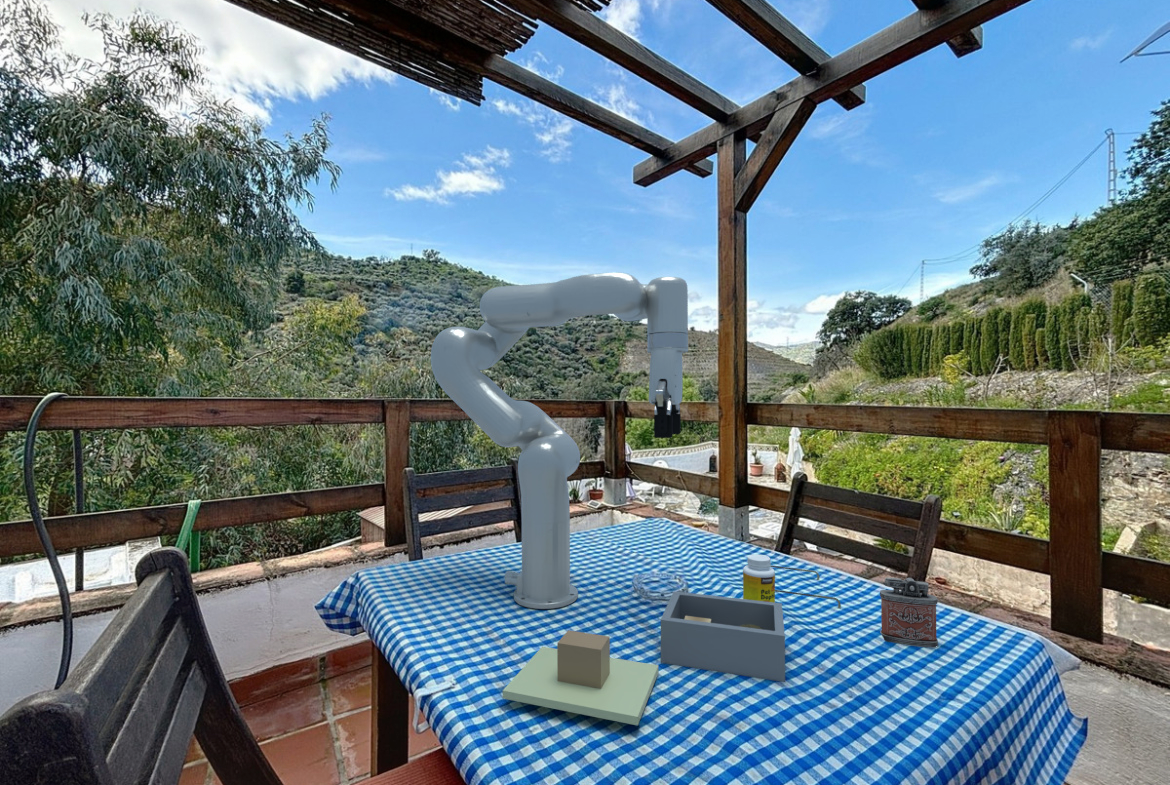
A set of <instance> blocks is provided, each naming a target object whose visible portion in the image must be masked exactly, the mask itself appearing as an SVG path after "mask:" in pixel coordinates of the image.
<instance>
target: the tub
mask: <svg viewBox="0 0 1170 785" xmlns="http://www.w3.org/2000/svg"><path fill="white" fill-rule="evenodd" d="M685 616H692V617H700V618H708V619H711V623H708V622H701V621H693V620H685V619H684V618H685ZM745 624H751V625H756V626H759V627H761V628H762V629H755V628H747V627H739V626H741V625H745ZM784 624H785V623H784V614H783V603H781V602H775V603H773V602H764V601H756V600H747V599H743V598H737V597H736V598H735V597H728V596H719V595H712V594H711V595H709V594H702V593H701V594H700V593H691V592H684V591H683V592H682V591H673V592H672V594H671V596H670V599H669V601H668V603H667V604H666V607H665V609H664V611H663V614H662V616H661V618H660V663H661V664H667V665H674V666H679V667H686V668H692V669H699V670H705V671H711V672H712V671H713V672H716V673H724V674H731V675H736V676H737V675H739V676H742V677H743V676H744V677H748V678H750V677H751V678H756V679H761V680H762V679H764V680H770V681H775V682H782V683H786V638H785V637H786V634H785V625H784Z"/></svg>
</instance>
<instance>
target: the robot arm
mask: <svg viewBox="0 0 1170 785" xmlns="http://www.w3.org/2000/svg"><path fill="white" fill-rule="evenodd" d="M688 291H689V290H688V284H687V282H686V280H685V279H684V278H682V277H677V276H660V277H655V278H652V279H651V280H650V281H649V282H648V284H646V283H645V284H644V283H641V282H640V281H639V280H638V279H637V278H636V277H635V276H634V275H632V274H629V273H625V272H617V271H616V272H605V273H604V272H603V273H588V274H581V275H577V276H572V277H568V278H566V279H561V280H558V281H556V282H554V281H553V282H547V283H546V282H545V283H543V282H542V283H534V284H520V285H519V284H517V285H516V284H515V285H505V286H503V285H502V286H497V287H494V288H491V289H488V290H486V292H485V293H483V294H482V297H481V298H480V300H479V312H480V315H481V317H482V319H483V320H484V323H483V324H482V325H481V326H480V327H479V328H478V329H473V328H470V327H467V326H466V327H465V326H451V327H450V326H449V327H447V328H445V329H443V330H441V331H440V332H439V333H438V334H437V335H436V337H435V338H434V340H433V343H432V345H431V350H430V364H431V370H432V374H433V376H434V378H435V380H436V382H437V383H438V385H439V386H440V388H441V389H442V390H443V392H444V393H445V394H446V395H447V396H448V397H449V398H450V399H451V400H452V401H453V402H454V403H455V404H456V405H457V406H458V407H459V408H460V409H462V411H463V412H465V414H466V415H467V416H468V417H469V419H471V420H472V421H473V422H474V424H476V425H477V427H479V429H480V430H482V431H483V432H484V433H485V434H486V435H487V437H489V438H490V439H491V441H492V442H494V443H495V444H496V445H498V446H499V447H504V448H515V447H519V448H520V449H521V450H522V451H521V452H520V455H519V457H518V463H517V473H518V481H519V489H520V497H521V499H520V500H521V501H520V502H521V571H520V572H516V571H512V570H511V571H510V570H507V571H505V574H504V584H505V585H509V586H510V585H513V586H515V587H516V589H515V590H514V592H513V600H514V601H515V602H516V603H517V604H518V605H520V606H522V607H525V608H529V609H536V610H551V609H558V608H562V607H566V606H568V605H569V606H570V605H571V604H572V603H574V602H575V601H576V600H577V599H578V597H579V591H578V589H577V587H576V586H574V585H573V584H571V547H570V546H571V543H570V542H571V530H570V528H571V527H570V526H571V523H570V522H571V514H570V510H571V509H570V494H569V488H568V487H569V486H568V477H570V476H571V475H572V474H574V473H575V472H576V470H578V467H579V465H580V460H581V452H580V448H579V447H578V444H577V443H576V442H575V440H574V439H573V438H572V437H571V436H570V435H569V434H568V433H567V432H566V431H565V430H564V429H563V428H562V427H560V425H558V423H556V422H555V420H553V419H552V418H551V417H550V416H549V415H548V414H547V413H546V412H545V411H544V410H542V409H541V408H540V407H539V406H537V405H535V404H534V403H532V402H530V401H526V400H515V399H513V398H512V397H510V396H509V395H508V394H507V393H506V392H505V391H504V390H503V389H502V388H501V387H499V386H498V384H497V383H496V382H495V381H493V380H492V379H491V378H490V377H488V376H487V375H485V374H484V373H483V372H482V371H483V370H487V369H490V368H491V367H493V366H494V365H496V364H497V363H498V362H499V361H500V360H501V359H502V358H503V357H504V356H505V355H506V354H507V353H508V352H509V351H510V349H511V348H513V346H514V345H516V343H518V341H520V339H521V338H522V337H523V336H524V335H525V333H526V332H527V331H528V330H529V329H530V328H542V327H558V326H562V325H563V324H565V323H566V322H567V321H569V320H571V319H573V318H578V317H586V316H598V315H614V316H615V317H617V318H618V319H620V320H621V321H624V322H635V321H640V320H641V321H642V320H645V319H646V320H647V321H646V322H647V323H646V325H647V326H646V327H647V328H646V329H647V330H646V331H647V350H646V351H647V353H648V354H650V359H649V361H650V362H649V380H648V381H649V384H648V402H649V404H651V405H654V411H653V412H654V415H653V424H654V425H653V433H654V434H653V437H654V438H655V439H657V438H659V439H672V438H673V436H674V435H681V432H682V429H681V428H682V427H681V426H682V425H681V421H682V420H681V417H682V416H681V407H680V406H681V405H680V404H681V403H682V402H683V354H685V353H688V352H689V335H688V333H689V319H688V316H689V314H688V312H689V308H688V307H689V306H688V296H689V294H688Z"/></svg>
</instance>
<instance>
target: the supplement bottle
mask: <svg viewBox="0 0 1170 785" xmlns="http://www.w3.org/2000/svg"><path fill="white" fill-rule="evenodd" d="M770 565H771V566H772V564H771V558H770V557H769V556H768V555H763V554H749V555H748V556H747V565H745V566H744V567H743V569H742V591H743V592H742V599H747V600H756V601H764V602H773V603H776V592H775V590H776V573H775V569H774V568H773V567H770Z"/></svg>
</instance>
